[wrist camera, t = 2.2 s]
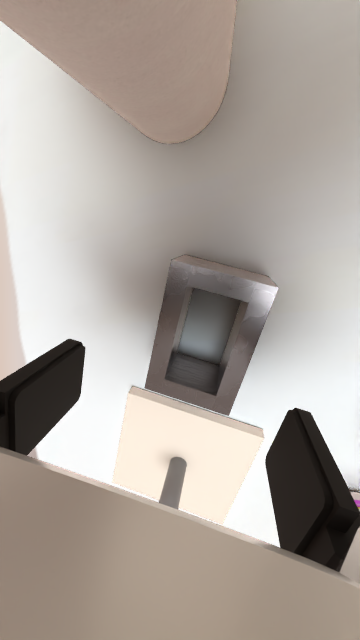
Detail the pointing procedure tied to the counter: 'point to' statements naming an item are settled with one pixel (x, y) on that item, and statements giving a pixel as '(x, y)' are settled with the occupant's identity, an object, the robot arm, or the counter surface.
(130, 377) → the counter surface
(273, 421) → the counter surface
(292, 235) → the counter surface
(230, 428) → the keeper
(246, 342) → the link
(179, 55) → the coffee cup
